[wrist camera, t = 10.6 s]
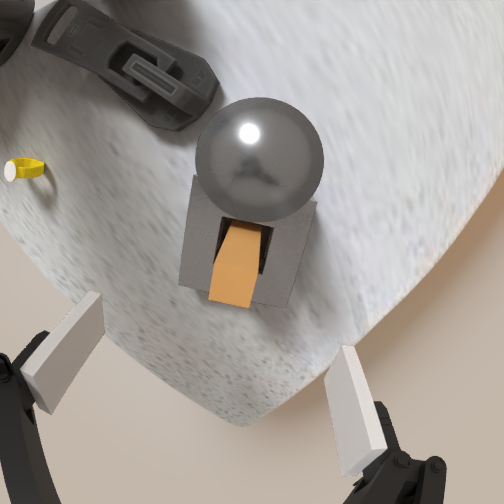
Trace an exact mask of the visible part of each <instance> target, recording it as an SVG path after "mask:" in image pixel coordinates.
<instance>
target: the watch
mask: <svg viewBox="0 0 504 504" xmlns="http://www.w3.org/2000/svg"><path fill="white" fill-rule="evenodd" d="M44 166H45V164H44V162H42V161H38V160H35V159H32V158H16V159H11V160H9V161H8V162H7V163H6V165H5V169H4V174H5V178H6V180H7V181H9V182H12V181H15V180H16V179H17V178H34V177H39V176H41V175H42V174H43V173H44Z"/></svg>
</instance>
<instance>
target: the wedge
mask: <svg viewBox="0 0 504 504" xmlns="http://www.w3.org/2000/svg"><path fill="white" fill-rule="evenodd" d="M260 239H261V225H257V224H253V223H248V222H243V221H239V220H234V219H233V221H232V223H231V226H230V228H229V230H228V232H227V235H226V237H225V239H224V242H223V244H222V246H221V249H220V251H219V253H218V255H217V258H216V260H215V263H214V269H213V274H212V280H211V286H210V292H209V298H208V299H209V300H213V301H218V302H222V303H227V304H231V305H236V306H241V307H245V308H249V306H250V302H251V298H252V294H253V290H254V286H255V282H256V278H257V274H258V267H259V253H260Z"/></svg>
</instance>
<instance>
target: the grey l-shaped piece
mask: <svg viewBox="0 0 504 504" xmlns="http://www.w3.org/2000/svg"><path fill="white" fill-rule="evenodd" d="M195 164H196V171H197V174H195V175H194V176H193V182H192V188H191V194H190V200H189V207H188V213H187V220H186V227H185V234H184V242H183V249H182V258H181V266H180V275H179V284H178V285H180V286H185V287H189V288H193V289H197V290H202V291H206V292H210V286H211V280H212V274H213V269H214V263H215V260H216V258H217V255H218V253H219V251H220V250H219V248H220V242H221V237H222V232H223V226H224V221H225V217H229V218H234V219H238V220H243V221H248V222H252V223H257V224H261V225H266V226H270V227H271V230H270V234H269V238H268V242H267V246H266V250H265V254H264V258H263V260H262V259H259V267H258V274H257V278H256V282H255V286H254V290H253V294H252V298H251V301H252V302H257V303H262V304H266V305H271V306H277V307H282V308H286V306H287V303H288V300H289V296H290V293H291V290H292V287H293V284H294V281H295V277H296V274H297V271H298V267H299V264H300V261H301V257H302V254H303V251H304V247H305V244H306V240H307V237H308V234H309V230H310V227H311V223H312V219H313V216H314V212H315V209H316V205H317V201H316V200H315V199H314V198H313V197H312V196H313V194H314V193H315V191H316V189H317V187H318V185H319V183H320V180H321V177H322V173H323V167H324V155H323V148H322V144H321V141H320V138H319V135H318V133H317V131H316V130H315V128H314V126H313V125H312V124H311V122H310V121H309V120H308V119H307V118H306V117H305V116H304V114H302V113H301V112H300V111H299V110H297V109H296V108H294V107H292V106H291V105H289V104H287V103H284V102H282V101H279V100H275V99H271V98H259V97H256V98H247V99H243V100H239V101H237V102H234V103H232V104H230V105H228V106H226V107H224V108H223V109H222V110H220V111H219V112H218V113H216V114H215V115H214V116H213V117H212V118H211V119H210V121H209V122H208V123H207V125H206V126H205V128H204V129H203V131H202V133H201V135H200V138H199V140H198V144H197V148H196V155H195Z"/></svg>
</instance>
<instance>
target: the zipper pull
mask: <svg viewBox="0 0 504 504" xmlns="http://www.w3.org/2000/svg"><path fill="white" fill-rule="evenodd" d="M71 6H74V7H77V8H78V10H79V12H78V14H77V15H76V17H75V18H74V19H73V21H72V22H71V23H70V25H69V26H68V27H67V29H66V30H65V32H64V33H63V35H62V36H61V38H60V39H59V40H58V42H57V43H56V44H54V45H52V44H50V43H48V42H47V39H48V37H49V34H50V32H51V31H52V29H53V28H54V26H55V25H56V23H57V22H58V21H59V19H60V18H61V16H62V15H63V14H64V13H65V12H66V11H67V10H68V9H69V8H70V7H71ZM31 46H33V47H36V48H38V49H41V50H43V51H46V52H48V53H51V54H54V55H56V56H58V57H60V58H63V59H65V60H67V61H70V62H72V63H74V64H76V65H78V66H81V67H83V68H85V69H87V70H89V71H91V72H93V73H95V74H97V75H98V76H99V77H100V78H101V79H102V80H103V81H104V82H105V83H106V84H107V85H108V86H109V87H111V88H112V89H113V90H114V91H115V92H116V93H117V94H118V95H119V96H120V97H121V98H122V99H123V100H125V101H126V102H127V103H128V104H129V105H130V106H131V107H132V108H133V109H134V110H135V111H136V112H137V113H138V114H139V115H140V116H141V117H142V118H143V119H144V120H145V121H146V122H147V123H148V124H149V125H151V126H153V127H158V128H162V129H167V130H172V131H181V130H183V129H184V128H185V127H187V126H188V125H190V124H191V123H193V122H194V121H196V120H197V119H199V118H200V116H201V115H202V114H203V113H204V111H205V110H206V109H207V108H208V107H209V105H210V104H211V102H212V100H213V97H214V95H215V92H216V90H217V87H218V85H219V81H218V79H217V77H216V76H215V74H214V72H213V71H212V69H211V67H210V66H209V64H208V63H207V62H206V60H205V59H203V58H201V57H199V56H197V55H195V54H193V53H190V52H188V51H186V50H183V49H181V48H179V47H176V46H174V45H172V44H169V43H167V42H165V41H162V40H160V39H157V38H155V37H152V36H149V35H147V34H144V33H141V32H139V31H136V30H130V31H129V30H128V29H126V28H125V27H123V26H122V25H120V24H119V23H117V22H116V21H114V20H113V19H111V18H109V17H108V16H106V15H105V14H103V13H101V12H100V11H98V10H96V9H95V8H93V7H91V6H90V5H88V4H87V3H85V2H84V1H82V0H59V1H58V2H57V3H56V4H55V5H54V7H53V8H52V9H51V10H50V12H49V13H48V14H47V16H46V17H45V19H44V20H43V21H42V23H41V25H40V26H39V28H38V30H37V32H36V34H35V36H34V39H33V41H32V43H31Z"/></svg>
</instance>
